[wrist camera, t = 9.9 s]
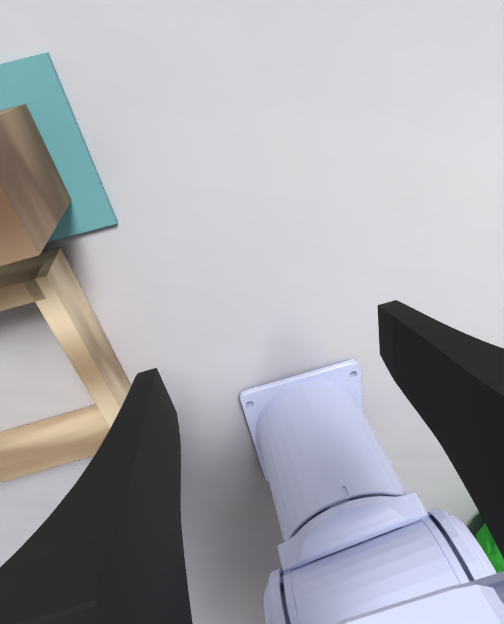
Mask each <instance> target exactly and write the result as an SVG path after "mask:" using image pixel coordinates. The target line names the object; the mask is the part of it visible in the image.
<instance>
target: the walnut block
mask: <svg viewBox="0 0 504 624" xmlns="http://www.w3.org/2000/svg"><path fill="white" fill-rule="evenodd" d="M70 202H71V197H70V195H69V193H68V191H67V189H66V187H65V185H64V183H63V181H62V178H61V176H60V174H59V172H58V170H57V168H56V166H55V164H54V162H53V159H52V157H51V155H50V153H49V151H48V149H47V147H46V145H45V143H44V140H43V138H42V136H41V134H40V132H39V130H38V128H37V126H36V124H35V122H34V119H33V117H32V115H31V113H30V111H29V109H28V107H27V105H26V104H23V105H19V106H15V107H11V108H8V109H4V110H0V266H3V265H6V264H10V263H13V262H17V261H20V260H24V259H28V258H31V257H35V256H38V255H40V254H41V252H42V250H43V249H44V247H45V245H46V243H47V242H48V240H49V238H50V236H51V235H52V233H53V231H54V229H55V228H56V226H57V224H58V223H59V221H60V219H61V217H62V216H63V214H64V212H65V210H66V209H67V207H68V205H69V203H70Z"/></svg>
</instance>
